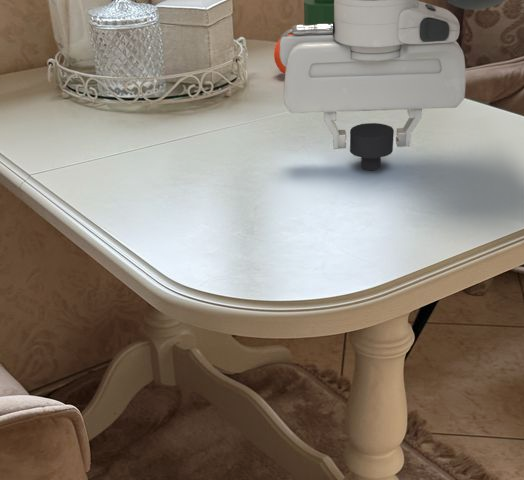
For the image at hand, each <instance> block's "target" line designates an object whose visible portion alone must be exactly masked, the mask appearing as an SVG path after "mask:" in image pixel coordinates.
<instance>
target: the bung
mask: <svg viewBox="0 0 524 480" xmlns="http://www.w3.org/2000/svg"><path fill="white" fill-rule="evenodd" d="M394 131H395V130H394V128H393V127H392V126H390V125H388V124H384V123H378V122H377V123H376V122H367V123H360V124H357V125H354V126H352V127H351V128H350V131H349V152H350V154H351V155H352V156H355V157H357V158H360V168H361V169H362V170H365V171H377V170H379V169H380V168H381V164H382V163H381V162H382V158H385V157H387V156H390V155H392V153H393V151H394V134H395V132H394Z"/></svg>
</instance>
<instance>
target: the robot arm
mask: <svg viewBox="0 0 524 480" xmlns="http://www.w3.org/2000/svg"><path fill="white" fill-rule="evenodd" d="M444 1H445V2H447V3H448V4H450V5H452V6H454V7H456V8H459V9H463V10H468V11H469V10H471V11H472V10H473V11H477V10H478V11H479V10H484V9H485V10H486V9H489V8H492V7H495V6H497V5H499V4H501V3H503V2H505V1H506V0H444ZM460 27H461V25H460V22H459V20H458V18H457V16H456V15H454V14H453V12H451V11H450V10H448V9H446V8H444V7H440V6H437V5H434V4H430V3H426V2H423V1H420V0H334V22H333V23H322V24H314V25H304V23H301V24H294V25H292V28H289V29H287V30H286V31H284V32H283V33H282V34H281V36H280V38H279V39H280V41H279V55H280V60H281V62H282V64H283V65H284V66H285V67H286V71H285V74H284V82H283V105H284V107H285V109H287V111H288V112H289V113H291V114H309V113H323V122H324V124H325V125H326V127H327V128H328V130H329V132H330V133H331V135H332V149H333V150H339V149H340V150H341V149H347V142H346V141H347V131H346V129H339V128H338V126H337V125H336V123H335V122H336V121H337V113H342V112H369V111H371V112H372V111H373V112H374V111H397V110H398V111H399V110H402V111H403V110H406V112H407V115H408V119H407V120H406V122H405V124H404V125H403V127H396V130H395V134H396V137H395V145H396V148H405V147H406V148H407V147H411V137H412V136H411V135H412V133H413V131H414V130H415V128H416V127H417V125H418V124H419V123H420V122H421V120H422V118H423V117H422V116H423V110H426V109H427V110H428V109H430V110H431V109H432V110H433V109H454V108H457V107H459V106H460V105H461V104H462V102H463V101H464V100H465V97H466V77H467V76H466V60H465V59H466V58H465V53H464V51H463V49H462V48H461V46H460V44H459V42H457V40H458V39H459V36H460V32H461V31H460ZM290 33H293V35H288V34H290ZM333 33H334V37H333ZM305 34H310V35H305Z"/></svg>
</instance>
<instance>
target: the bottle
mask: <svg viewBox="0 0 524 480" xmlns="http://www.w3.org/2000/svg"><path fill="white" fill-rule="evenodd" d="M333 22H334V0H303V24H304V25H314V24H322V23H333ZM305 35H310V34H305ZM333 37H334V33H333Z"/></svg>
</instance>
